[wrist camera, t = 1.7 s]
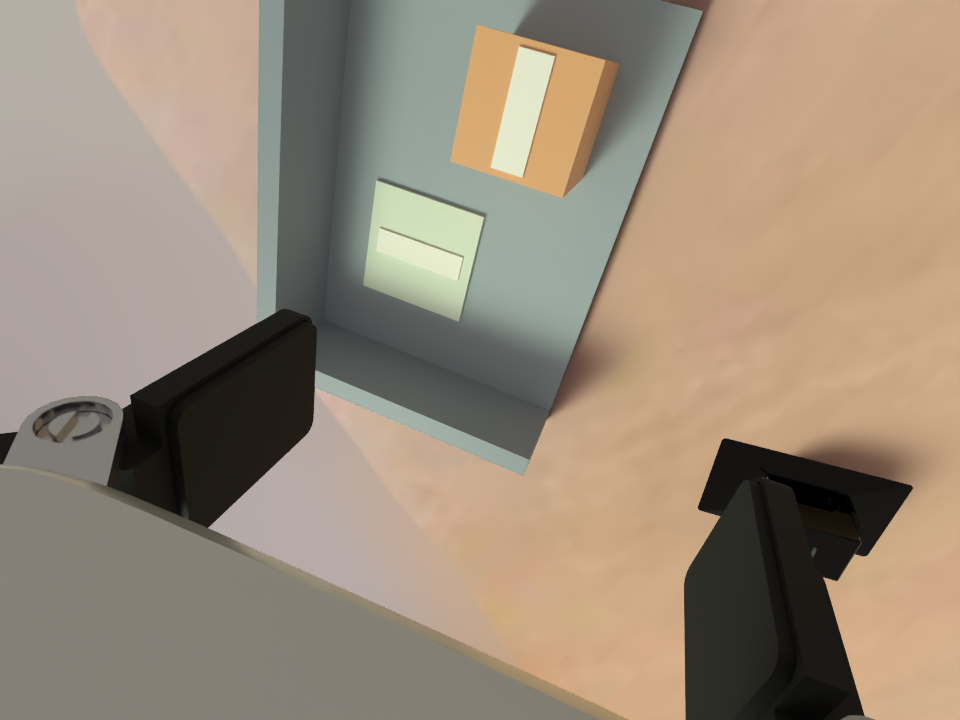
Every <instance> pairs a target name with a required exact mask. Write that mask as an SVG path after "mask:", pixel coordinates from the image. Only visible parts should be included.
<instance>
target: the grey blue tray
mask: <svg viewBox="0 0 960 720" xmlns="http://www.w3.org/2000/svg"><path fill="white" fill-rule="evenodd" d="M702 13H703V11H701V10H697V9H693V8H689V7H685V6H681V5H677V4H673V3H669V2H666V1H662V0H259V100H258V232H257V323H258V322H260V321H262V320H264V319H265V318H267V317H269V316H271V315H272V314H274V313H276V312H278V311H279V310H281V309H284V308H285V309H290V310H292V311H295V312H298V313H301V314H304V315H306V316H309V317H310V318H311V320H312V324H313V325H315V326H316V328H317V347H316V369H315V388H318V389H320V390H322V391H325V392H327V393H329V394H332V395H334V396H337V397H339V398H341V399H344V400H346V401H348V402H351V403H353V404H355V405H358V406H360V407H362V408H365V409H367V410H369V411H372V412H374V413H377V414H379V415H381V416H384V417H386V418H388V419H391V420H393V421H395V422H398V423H400V424H402V425H405V426H407V427H409V428H412V429H414V430H417V431H419V432H421V433H424V434H426V435H428V436H431V437H433V438H435V439H438V440H440V441H442V442H445V443H447V444H449V445H452V446H454V447H456V448H459V449H461V450H464V451H466V452H468V453H471V454H473V455H475V456H478V457H480V458H482V459H485V460H487V461H489V462H492V463H494V464H496V465H499V466H501V467H504V468H506V469H508V470H511V471H513V472H515V473H518V474H520V475H522V476H524V473H525V471H526V468H527V466H528V464H529V461H530V459H531V456H532V454H533V451H534V449H535V446H536V444H537V442H538V439H539V437H540V434H541V432H542V429H543V427H544V425H545V422H546V420H547V417H548V414H549V412H550V409H551V407H552V404H553V401H554V399H555V396H556V394H557V391H558V388H559V386H560V383H561V381H562V378H563V375H564V373H565V370H566V368H567V365H568V362H569V360H570V357H571V354H572V352H573V349H574V347H575V344H576V341H577V339H578V336H579V334H580V331H581V328H582V326H583V323H584V321H585V318H586V315H587V313H588V310H589V308H590V305H591V302H592V300H593V297H594V294H595V292H596V289H597V287H598V284H599V281H600V279H601V276H602V274H603V271H604V268H605V266H606V263H607V261H608V258H609V255H610V253H611V250H612V247H613V245H614V242H615V240H616V237H617V234H618V232H619V229H620V227H621V224H622V221H623V219H624V216H625V214H626V211H627V208H628V206H629V203H630V201H631V198H632V195H633V193H634V190H635V187H636V185H637V182H638V180H639V177H640V174H641V172H642V169H643V167H644V164H645V161H646V159H647V156H648V154H649V151H650V148H651V146H652V143H653V141H654V138H655V135H656V133H657V130H658V127H659V125H660V122H661V120H662V117H663V114H664V112H665V109H666V107H667V104H668V101H669V99H670V96H671V94H672V91H673V88H674V86H675V83H676V81H677V78H678V75H679V73H680V70H681V67H682V65H683V62H684V60H685V57H686V54H687V52H688V49H689V47H690V44H691V41H692V39H693V36H694V34H695V31H696V28H697V26H698V23H699V21H700V18H701V15H702ZM477 25H480V26H484V27H488V28H492V29H496V30H500V31H503V32H507V33H511V34H515V35H519V36H522V37H526V38H529V39H533V40H537V41H540V42H544V43H547V44H551V45H555V46H558V47H562V48H566V49H569V50H573V51H576V52H580V53H584V54H587V55H591V56H594V57H598V58H602V59H605V60H609V61H612V62H616V63H620V66H619V69H618V72H617V75H616V78H615V81H614V85H613V88H612V91H611V94H610V97H609V100H608V103H607V106H606V109H605V112H604V115H603V118H602V121H601V124H600V127H599V130H598V133H597V136H596V139H595V143H594V146H593V149H592V152H591V155H590V158H589V161H588V164H587V167H586V170H585V173H584V176H583V179H582V180H581V181H580V182H579V183H578V184H577V185H576V186H575V187H574V188H573V189H571V190H570V191H569V192H568V193H567V194H566V195H565V196H564V197H563V198H560V197H557V196H554V195H551V194H548V193H545V192H542V191H539V190H536V189H532V188H529V187H526V186H523V185H520V184H517V183H514V182H511V181H508V180H505V179H502V178H499V177H496V176H493V175H490V174H487V173H484V172H481V171H477V170H474V169H471V168H468V167H465V166H462V165H459V164H456V163H453V162H450V160H451V155H452V149H453V144H454V139H455V134H456V129H457V124H458V118H459V113H460V108H461V103H462V98H463V93H464V87H465V82H466V77H467V72H468V67H469V62H470V57H471V51H472V46H473V41H474V36H475V31H476V26H477Z"/></svg>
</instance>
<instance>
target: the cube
mask: <svg viewBox="0 0 960 720" xmlns="http://www.w3.org/2000/svg"><path fill="white" fill-rule="evenodd" d="M619 66H620V63H616V62H612V61H609V60H605V59H602V58H598V57H594V56H591V55H587V54H584V53H580V52H576V51H573V50H569V49H566V48H562V47H558V46H555V45H551V44H547V43H544V42H540V41H537V40H533V39H529V38H526V37H522V36H519V35H515V34H511V33H507V32H503V31H500V30H496V29H492V28H488V27H484V26H480V25H477V26H476V31H475V36H474V41H473V46H472V51H471V57H470V62H469V67H468V72H467V77H466V82H465V87H464V93H463V98H462V103H461V108H460V113H459V118H458V124H457V129H456V134H455V139H454V144H453V149H452V155H451V160H450V162H453V163H456V164H459V165H462V166H465V167H468V168H471V169H474V170H477V171H481V172H484V173H487V174H490V175H493V176H496V177H499V178H502V179H505V180H508V181H511V182H514V183H517V184H520V185H523V186H526V187H529V188H532V189H536V190H539V191H542V192H545V193H548V194H551V195H554V196H557V197H560V198H563V197H564V196H565V195H566V194H567V193H568V192H569V191H570V190H571V189H573V188H574V187H575V186H576V185H577V184H578V183H579V182H580V181H581V180H582V179H583V176H584V173H585V170H586V167H587V164H588V161H589V158H590V155H591V152H592V149H593V146H594V143H595V139H596V136H597V133H598V130H599V127H600V124H601V121H602V118H603V115H604V112H605V109H606V106H607V103H608V100H609V97H610V94H611V91H612V88H613V85H614V81H615V78H616V75H617V72H618V69H619Z"/></svg>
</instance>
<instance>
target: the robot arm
mask: <svg viewBox="0 0 960 720" xmlns="http://www.w3.org/2000/svg"><path fill="white" fill-rule="evenodd" d="M316 347H317V328H316V326H315V325H313V324H312V320H311V318H310V317H309V316H306V315H304V314H301V313H298V312H295V311H292V310H290V309H285V308H284V309H281V310H279V311H278V312H276V313H274V314H272V315H271V316H269V317H267V318H265V319H264V320H262V321H260V322H258V323H257V324H255V325H253V326H251V327H250V328H248V329H246V330H244V331H243V332H241V333H239V334H237V335H236V336H234V337H232V338H231V339H228V340H227V341H225V342H223V343H222V344H220V345H218V346H216V347H214V348H213V349H211V350H209V351H207V352H206V353H204V354H202V355H201V356H199V357H197V358H195V359H194V360H192V361H190V362H188V363H186V364H185V365H183V366H181V367H179V368H178V369H176V370H174V371H172V372H171V373H169V374H167V375H165V376H164V377H162V378H160V379H158V380H157V381H155V382H153V383H151V384H150V385H148V386H146V387H144V388H143V389H141V390H139V391H137V392H136V393H134V394H132V395H130V398H131V404H130V405H128V406H127V407H125V408H123V409H122V408H120V406H119V405H118V404H117V403H115V402H114V401H112V400H109V399H106V398H102V397H97V396H79V397H71V398H66V399H62V400H58V401H55V402H51V403H49V404H47V405H45V406H43V407H40V408H38V409H37V410H35V411H34V412H33V413H31V414H30V415H29V416H27V418H26V419H25V420H24V422H23V423H22V425H21V426H20V429H19V431H18V432H13V433H4V434H0V720H628V719H626V718H624V717H622V716H620V715H618V714H616V713H613V712H611V711H609V710H607V709H605V708H603V707H601V706H599V705H597V704H595V703H592V702H590V701H588V700H586V699H584V698H582V697H579V696H577V695H575V694H573V693H571V692H568V691H566V690H564V689H562V688H560V687H558V686H555V685H553V684H551V683H549V682H547V681H545V680H542V679H540V678H538V677H536V676H534V675H531V674H529V673H527V672H525V671H523V670H521V669H518V668H516V667H514V666H512V665H510V664H507V663H505V662H503V661H501V660H499V659H496V658H494V657H492V656H490V655H488V654H486V653H483V652H481V651H479V650H477V649H475V648H473V647H471V646H468V645H466V644H464V643H462V642H459V641H457V640H455V639H453V638H451V637H449V636H446V635H444V634H442V633H440V632H438V631H435V630H433V629H431V628H428V627H427V626H424V625H422V624H420V623H418V622H416V621H413V620H411V619H409V618H407V617H405V616H402V615H400V614H398V613H396V612H394V611H391V610H389V609H387V608H385V607H382V606H380V605H378V604H376V603H374V602H371V601H369V600H367V599H365V598H363V597H360V596H358V595H356V594H354V593H352V592H349V591H347V590H345V589H343V588H341V587H338V586H336V585H334V584H332V583H329V582H327V581H325V580H323V579H321V578H318V577H316V576H314V575H312V574H309V573H307V572H305V571H303V570H301V569H298V568H296V567H294V566H292V565H289V564H287V563H285V562H283V561H280V560H278V559H276V558H274V557H271V556H269V555H267V554H265V553H262V552H260V551H258V550H256V549H254V548H251V547H249V546H247V545H245V544H242V543H240V542H238V541H236V540H233V539H231V538H229V537H227V536H224V535H222V534H220V533H218V532H215V531H213V530H211V529H209V528H208V527H209V526H210V525H211V524H212V523H213V522H215V521H216V520H217V519H218V518H219V517H220V516H221V515H222V514H223V513H224V512H225V511H226V510H227V509H228V508H229V507H230V506H232V505H233V504H234V503H235V502H236V501H237V500H238V499H239V498H240V497H241V496H242V495H243V494H244V493H245V492H246V491H247V490H248V489H250V488H251V487H252V486H253V485H254V484H255V483H256V482H257V481H258V480H259V479H260V478H261V477H262V476H263V475H264V474H265V473H266V472H267V471H269V470H270V469H271V468H272V467H273V466H274V465H275V464H276V463H277V462H278V461H279V460H280V459H281V458H282V457H283V456H284V455H285V454H286V453H288V452H289V451H290V450H291V449H292V448H293V447H294V446H295V445H296V444H297V443H298V442H299V441H300V440H301V439H302V438H303V437H304V436H306V434H307V433H308V432H309V430H310V428H311V426H312V423H313V414H314V392H315V369H316ZM684 618H685V698H686V720H874V719H871V718H868V717H865V716H864V712H863V709H862V706H861V702H860V699H859V695H858V692H857V689H856V685H855V682H854V678H853V675H852V672H851V668H850V665H849V662H848V658H847V655H846V651H845V648H844V645H843V641H842V638H841V634H840V631H839V628H838V624H837V621H836V617H835V614H834V611H833V607H832V604H831V601H830V597H829V594H828V590H827V587H826V584H825V581H824V579H823V577H822V575H821V574H820V573H819V572H818V571H816V569H815V565H814V561H813V558H812V554H811V551H810V547H809V544H808V540H807V537H806V533H805V530H804V526H803V523H802V519H801V516H800V512H799V509H798V505H797V502H796V498H795V494H794V491H793V489H792V488H791V487H789V486H786V485H783V484H780V483H778V482H775V481H772V480H769V479H766V478H763V477H761V476H760V477H757V478H756V479H754V481H753V482H752V481H749V480H744V481H743V482H742V483H741V485H740V486H739V488H738V489H737V491H736V493H735V494H734V496H733V497H732V499H731V501H730V502H729V504H728V506H727V507H726V509H725V510H724V512H723V514H722V515H721V517H720V518H719V520H718V522H717V523H716V525H715V527H714V528H713V530H712V531H711V533H710V535H709V536H708V538H707V539H706V541H705V543H704V544H703V546H702V548H701V549H700V551H699V552H698V554H697V556H696V557H695V559H694V560H693V562H692V564H691V565H690V567H689V569H688V571H687V574H686V577H685V582H684Z"/></svg>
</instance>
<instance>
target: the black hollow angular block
mask: <svg viewBox="0 0 960 720" xmlns="http://www.w3.org/2000/svg"><path fill="white" fill-rule="evenodd" d="M760 476H761V477H763V478H766V479H769V480H772V481H775V482H778V483H780V484H783V485H786V486H789V487H791V488H792V489H793V491H794V494H795V498H796V502H797V505H798V509H799V512H800V516H801V519H802V523H803V526H804V530H805V533H806V537H807V540H808V544H809V547H810V551H811V554H812V558H813V561H814V565H815V569H816V571H818V572H819V573H820V574H821V575H822V577H824V578H828V579H831V580H834V581H838V580H839V578H840V577H841V575H842V573H843V572H844V570H845V569H846V567H847V565H848V564H849V562H850V561H851V559H852V557H853V556H854V554H856V555H860V556H867V555H868V554H869V552H870V551H871V549H872V548H873V546H874V545H875V544H876V542H877V541H878V539H879V538H880V536H881V535H882V533H883V532H884V530H885V529H886V527H887V526H888V524H889V523H890V521H891V520H892V519H893V517H894V516H895V514H896V513H897V511H898V510H899V508H900V507H901V505H902V504H903V502H904V501H905V499H906V498H907V496H908V495H909V493H910V492H911V491H912V489H913V487H912V486H911V485H907V484H903V483H899V482H895V481H892V480H888V479H884V478H880V477H876V476H872V475H868V474H864V473H860V472H856V471H852V470H848V469H844V468H840V467H836V466H833V465H829V464H825V463H821V462H817V461H813V460H809V459H805V458H801V457H797V456H793V455H789V454H785V453H781V452H778V451H774V450H770V449H766V448H762V447H758V446H754V445H750V444H746V443H742V442H738V441H734V440H730V439H726V438H725V439H723V440H722V442H721V444H720V447H719V450H718V453H717V456H716V458H715V461H714V464H713V467H712V469H711V472H710V475H709V478H708V481H707V483H706V486H705V489H704V492H703V495H702V497H701V500H700V503H699V506H698V509H699V510H701V511H704V512H708V513H711V514H715V515H718V516H721V515H722V514H723V512H724V510H725V509H726V507H727V506H728V504H729V502H730V501H731V499H732V497H733V496H734V494H735V493H736V491H737V489H738V488H739V486H740V485H741V483H742V482H743V481H744V480H749V481H752V482H753V481H754V479H756V478H757V477H760Z"/></svg>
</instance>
